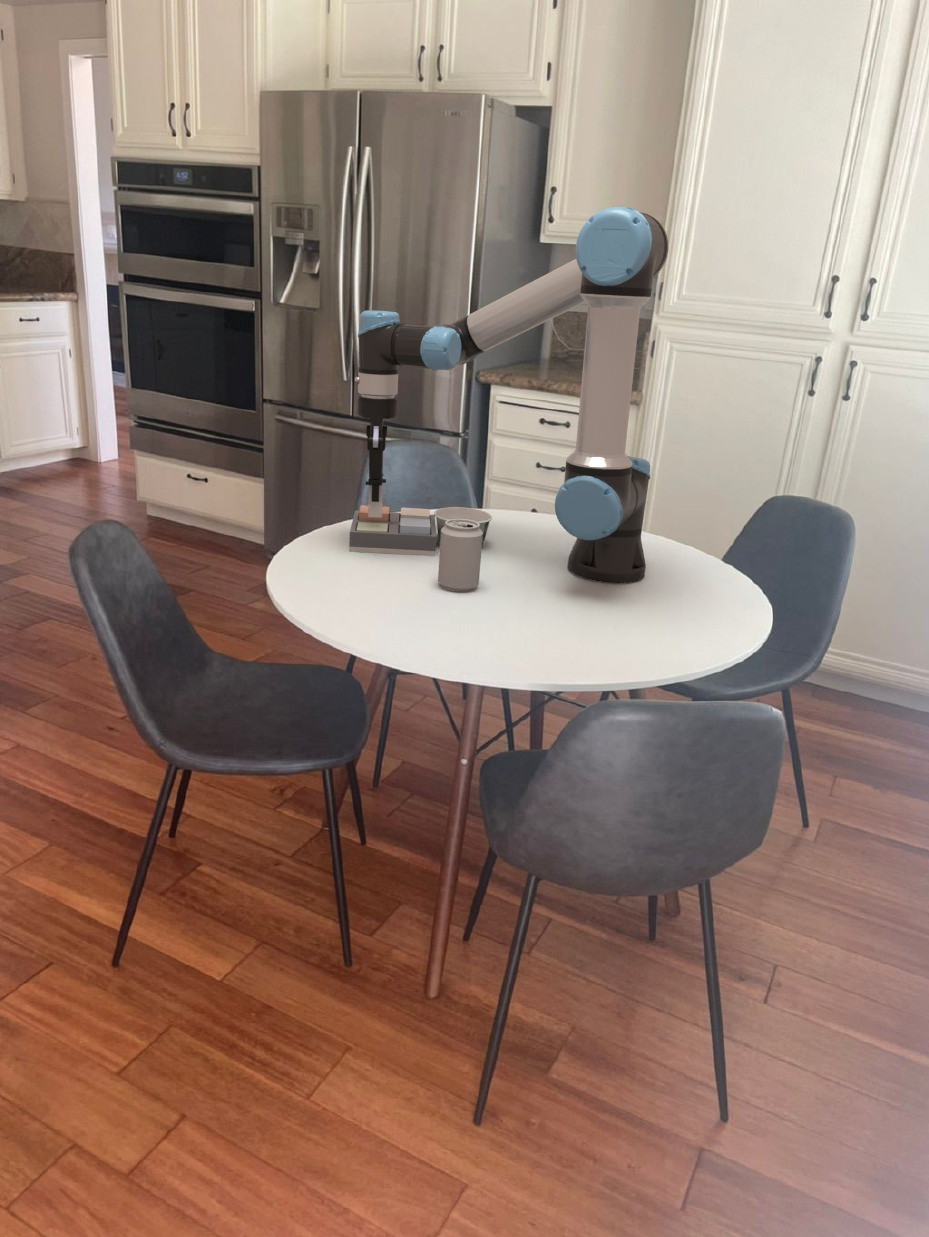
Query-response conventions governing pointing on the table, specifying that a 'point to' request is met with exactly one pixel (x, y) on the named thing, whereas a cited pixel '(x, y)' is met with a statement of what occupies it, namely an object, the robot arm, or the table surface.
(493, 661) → the table surface
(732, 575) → the table surface
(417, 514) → the key
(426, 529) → the key
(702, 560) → the table surface
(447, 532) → the can
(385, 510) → the key
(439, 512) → the food container
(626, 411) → the robot arm
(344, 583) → the table surface
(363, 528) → the key
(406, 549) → the keypad
